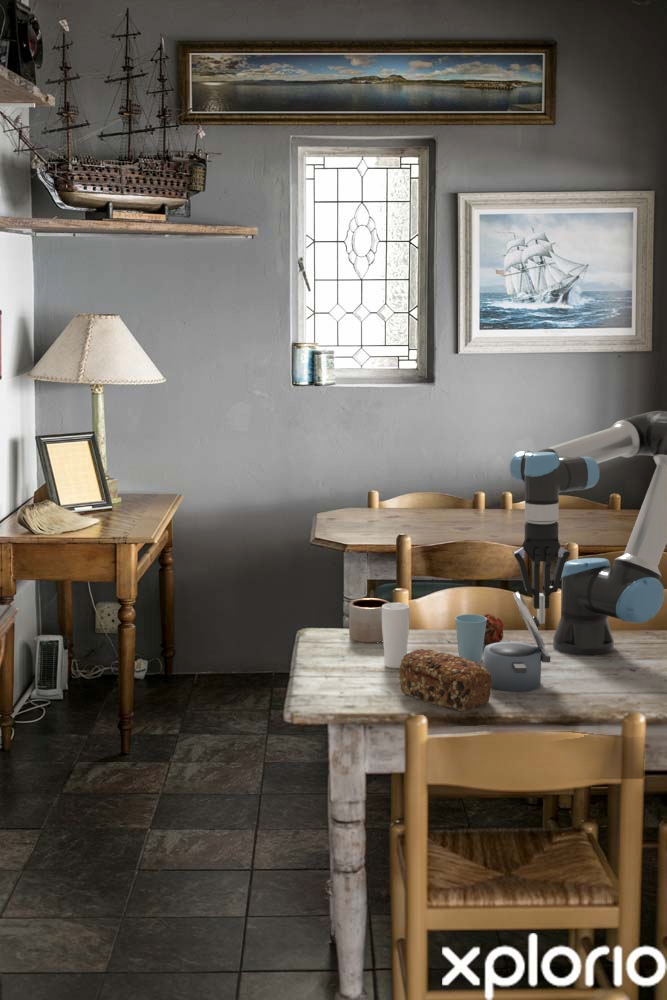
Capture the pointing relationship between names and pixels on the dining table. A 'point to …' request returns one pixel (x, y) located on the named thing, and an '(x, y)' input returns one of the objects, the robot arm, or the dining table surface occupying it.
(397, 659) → the drinking glass
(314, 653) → the dining table surface
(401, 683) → the bread
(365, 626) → the planter
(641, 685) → the dining table surface
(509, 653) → the pot
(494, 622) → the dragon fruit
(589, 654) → the robot arm
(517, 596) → the lid
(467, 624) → the cup
